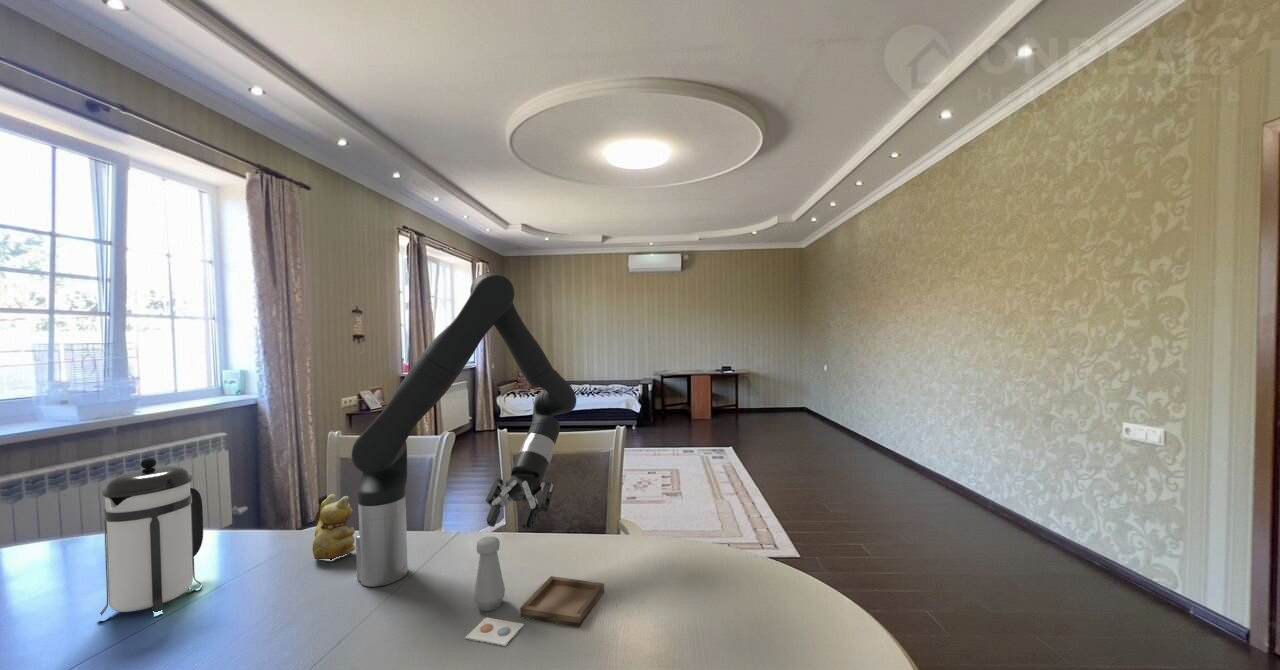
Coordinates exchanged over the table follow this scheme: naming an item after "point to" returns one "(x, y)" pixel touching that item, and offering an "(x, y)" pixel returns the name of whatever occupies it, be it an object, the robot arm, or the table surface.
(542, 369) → the robot arm
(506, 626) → the card
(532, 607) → the walnut tray
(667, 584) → the table surface
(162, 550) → the coffee press
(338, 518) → the decorative figurine
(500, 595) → the salt shaker
